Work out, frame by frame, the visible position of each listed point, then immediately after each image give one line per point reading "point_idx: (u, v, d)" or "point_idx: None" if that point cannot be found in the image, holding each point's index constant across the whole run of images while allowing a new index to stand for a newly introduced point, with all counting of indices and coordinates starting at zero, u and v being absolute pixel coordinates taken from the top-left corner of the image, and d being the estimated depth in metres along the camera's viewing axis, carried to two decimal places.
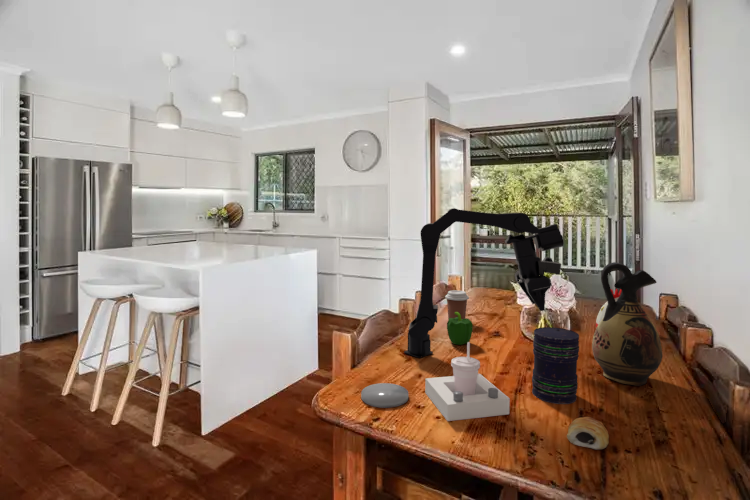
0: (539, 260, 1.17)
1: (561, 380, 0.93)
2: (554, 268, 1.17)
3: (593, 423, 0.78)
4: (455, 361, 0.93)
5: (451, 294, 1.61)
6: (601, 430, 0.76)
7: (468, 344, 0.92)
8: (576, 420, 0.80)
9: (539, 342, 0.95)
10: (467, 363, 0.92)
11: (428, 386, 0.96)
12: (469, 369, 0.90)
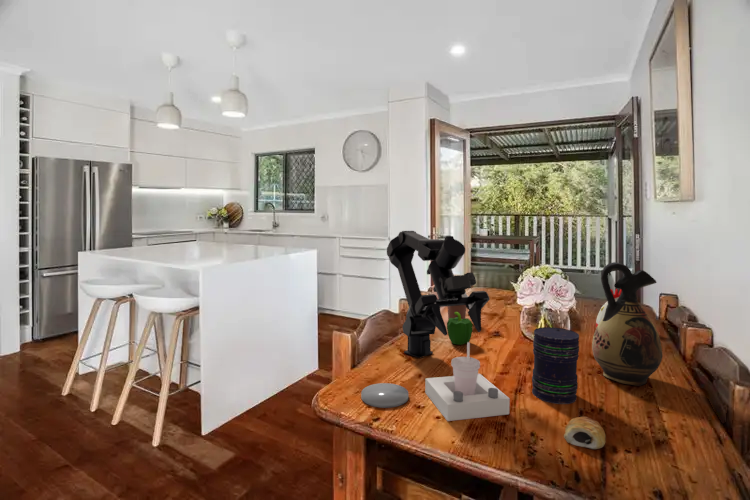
0: (441, 279, 1.06)
1: (561, 380, 0.93)
2: (450, 283, 1.01)
3: (590, 423, 0.78)
4: (455, 361, 0.93)
5: None
6: (598, 430, 0.77)
7: (468, 344, 0.92)
8: (573, 420, 0.80)
9: (539, 342, 0.95)
10: (467, 363, 0.92)
11: (428, 386, 0.96)
12: (469, 369, 0.90)
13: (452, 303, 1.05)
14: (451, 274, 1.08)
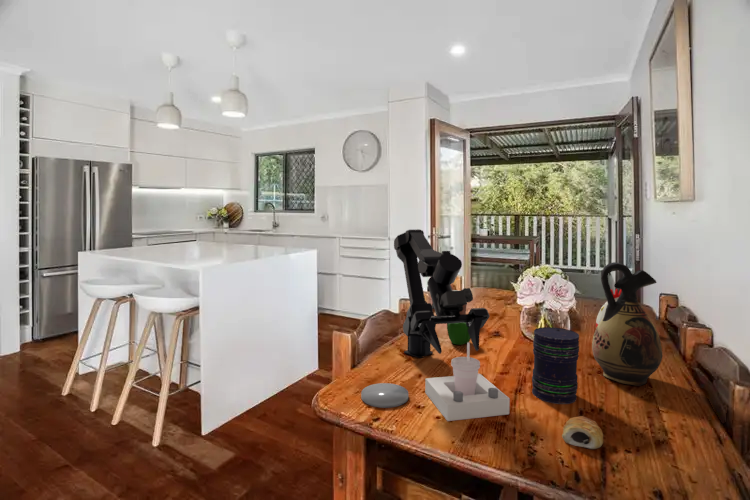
0: (438, 295, 1.02)
1: (561, 380, 0.93)
2: (445, 299, 0.98)
3: (588, 422, 0.78)
4: (455, 361, 0.93)
5: None
6: (596, 429, 0.77)
7: (468, 344, 0.92)
8: (571, 420, 0.80)
9: (539, 342, 0.95)
10: (467, 363, 0.92)
11: (428, 386, 0.96)
12: (469, 369, 0.90)
13: (449, 320, 1.01)
14: (449, 290, 1.04)
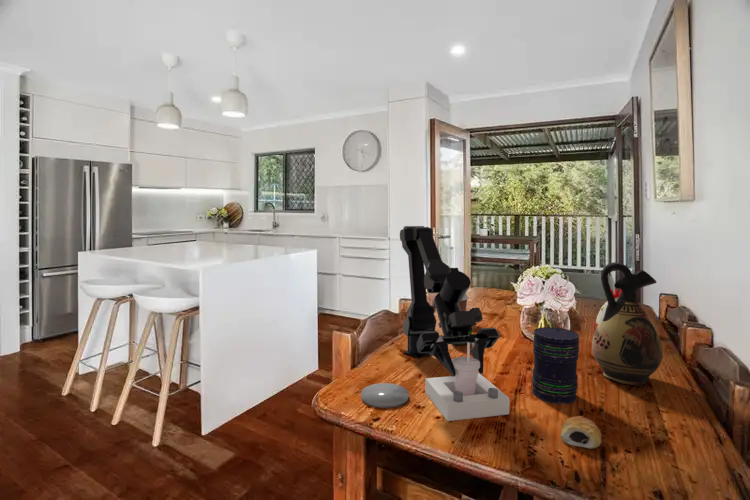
0: (445, 314, 0.98)
1: (561, 380, 0.93)
2: (453, 319, 0.93)
3: (586, 422, 0.78)
4: (455, 361, 0.93)
5: None
6: (594, 429, 0.77)
7: (468, 344, 0.92)
8: (569, 420, 0.80)
9: (539, 342, 0.95)
10: (467, 363, 0.92)
11: (428, 386, 0.96)
12: (469, 369, 0.90)
13: (457, 341, 0.97)
14: (457, 309, 1.00)
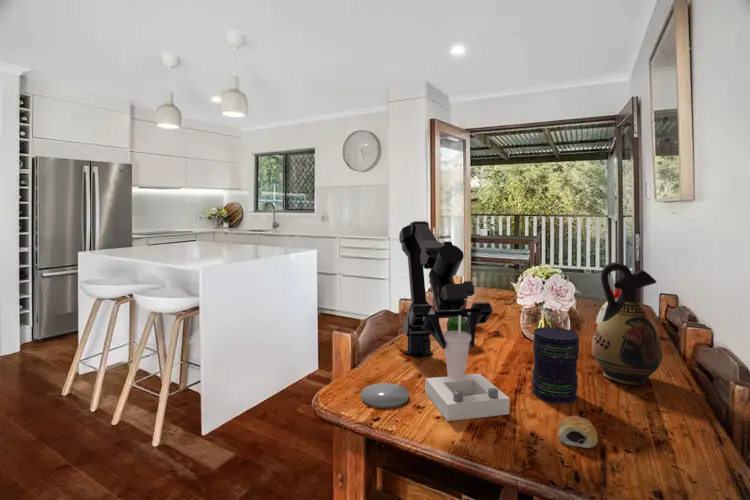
0: (438, 288, 0.97)
1: (561, 380, 0.93)
2: (444, 292, 0.93)
3: (582, 422, 0.78)
4: (446, 334, 0.93)
5: None
6: (590, 429, 0.77)
7: (459, 317, 0.92)
8: (565, 419, 0.80)
9: (539, 342, 0.95)
10: (458, 336, 0.91)
11: (428, 386, 0.96)
12: (459, 341, 0.89)
13: (450, 315, 0.96)
14: (451, 283, 0.99)
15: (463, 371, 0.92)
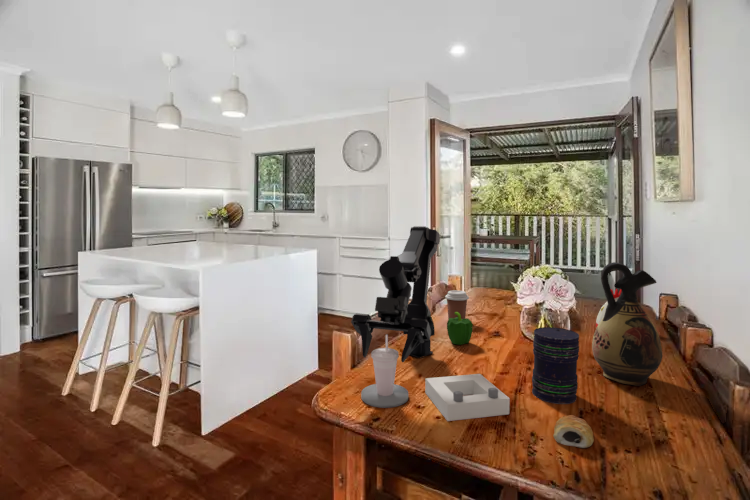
0: None
1: (561, 380, 0.93)
2: None
3: (578, 421, 0.78)
4: (376, 350, 0.97)
5: (451, 294, 1.61)
6: (586, 428, 0.77)
7: (386, 336, 0.95)
8: (561, 419, 0.80)
9: (539, 342, 0.95)
10: (382, 354, 0.95)
11: (428, 386, 0.96)
12: (378, 359, 0.93)
13: (389, 327, 0.99)
14: None
15: (386, 388, 0.95)
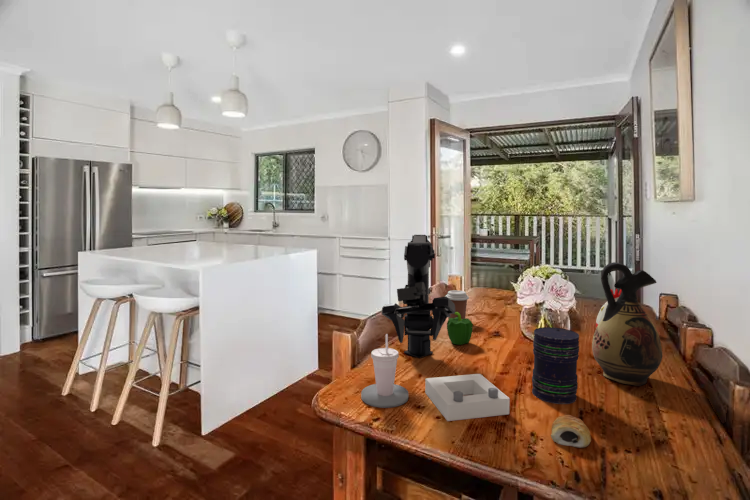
0: None
1: (561, 380, 0.93)
2: None
3: (575, 421, 0.79)
4: (376, 350, 0.97)
5: (451, 294, 1.61)
6: (583, 428, 0.77)
7: (386, 336, 0.95)
8: (558, 419, 0.80)
9: (539, 342, 0.95)
10: (382, 353, 0.95)
11: (428, 386, 0.96)
12: (378, 359, 0.94)
13: (416, 310, 1.08)
14: (418, 280, 1.09)
15: (386, 388, 0.95)
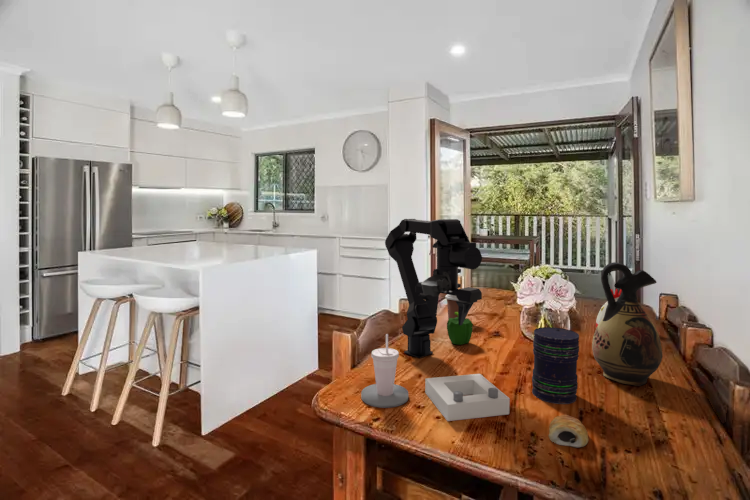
0: None
1: (561, 380, 0.93)
2: None
3: (573, 421, 0.79)
4: (377, 350, 0.97)
5: None
6: (581, 428, 0.77)
7: (386, 336, 0.95)
8: (556, 419, 0.80)
9: (539, 342, 0.95)
10: (382, 353, 0.95)
11: (428, 386, 0.96)
12: (378, 359, 0.94)
13: (445, 292, 1.13)
14: (444, 267, 1.10)
15: (387, 388, 0.95)
